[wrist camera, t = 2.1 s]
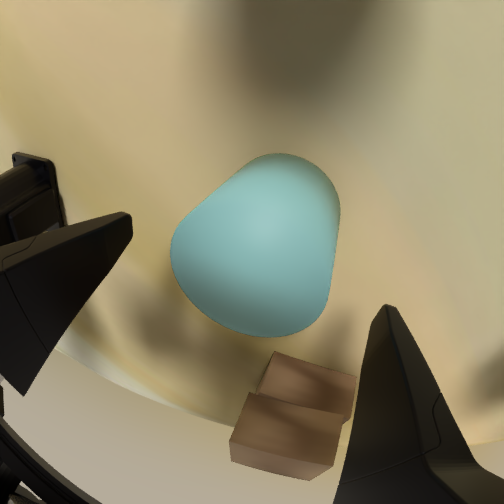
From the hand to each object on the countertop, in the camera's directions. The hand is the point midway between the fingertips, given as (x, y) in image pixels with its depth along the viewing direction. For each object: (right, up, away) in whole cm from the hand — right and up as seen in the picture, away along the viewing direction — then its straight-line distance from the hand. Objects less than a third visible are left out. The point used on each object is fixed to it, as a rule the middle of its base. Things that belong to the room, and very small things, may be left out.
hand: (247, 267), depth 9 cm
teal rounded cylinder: (+1, +2, +3) cm, 4 cm away
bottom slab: (+4, -9, +11) cm, 15 cm away
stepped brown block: (+3, -11, +8) cm, 14 cm away
